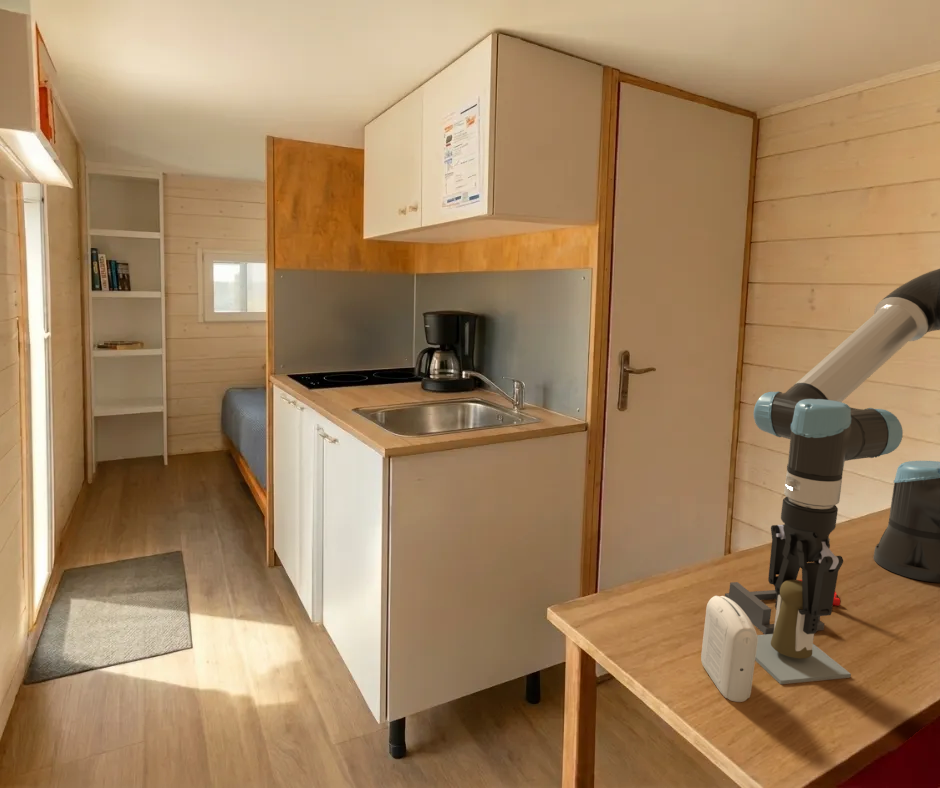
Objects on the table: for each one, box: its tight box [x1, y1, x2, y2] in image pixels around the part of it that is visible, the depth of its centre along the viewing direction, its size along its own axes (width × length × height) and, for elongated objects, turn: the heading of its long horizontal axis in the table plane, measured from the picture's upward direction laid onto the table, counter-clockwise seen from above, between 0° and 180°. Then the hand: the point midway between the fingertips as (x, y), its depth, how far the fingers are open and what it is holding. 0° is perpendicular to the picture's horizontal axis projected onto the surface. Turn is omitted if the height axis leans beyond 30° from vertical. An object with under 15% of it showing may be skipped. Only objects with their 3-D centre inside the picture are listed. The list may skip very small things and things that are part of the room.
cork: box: [771, 579, 812, 659], centre depth 103 cm, size 6×6×11 cm
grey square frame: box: [724, 581, 825, 635], centre depth 117 cm, size 11×12×4 cm
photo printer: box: [700, 595, 758, 703], centre depth 97 cm, size 10×4×12 cm, turn 3°
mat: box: [755, 634, 852, 685], centre depth 104 cm, size 12×12×1 cm
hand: (792, 640), depth 104 cm, fingers open, 4 cm apart
